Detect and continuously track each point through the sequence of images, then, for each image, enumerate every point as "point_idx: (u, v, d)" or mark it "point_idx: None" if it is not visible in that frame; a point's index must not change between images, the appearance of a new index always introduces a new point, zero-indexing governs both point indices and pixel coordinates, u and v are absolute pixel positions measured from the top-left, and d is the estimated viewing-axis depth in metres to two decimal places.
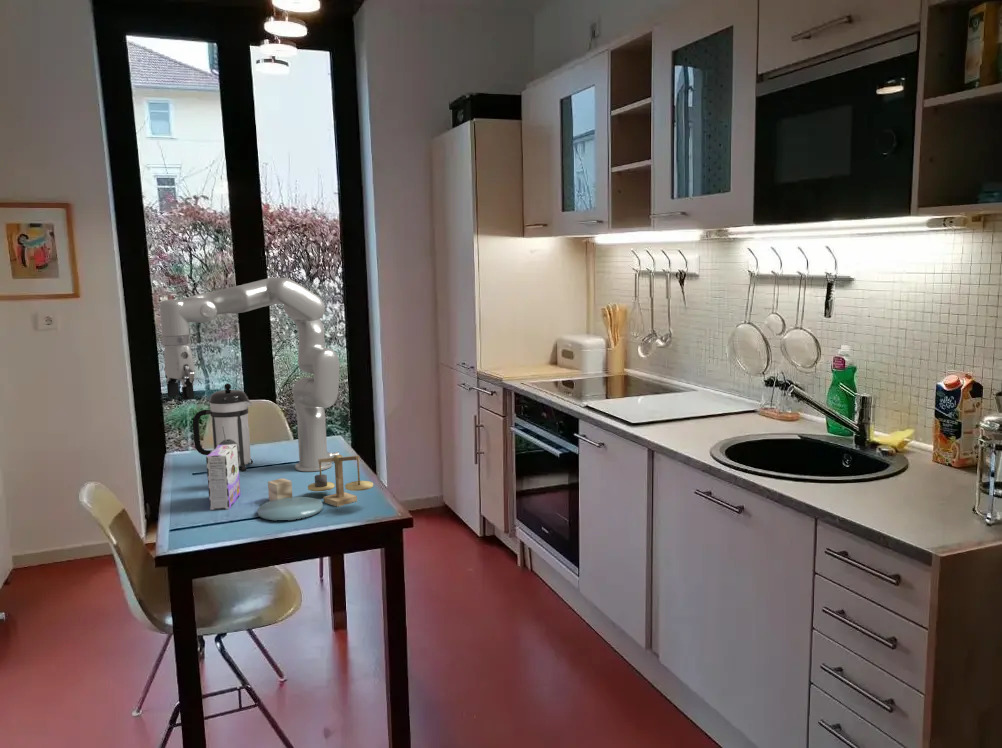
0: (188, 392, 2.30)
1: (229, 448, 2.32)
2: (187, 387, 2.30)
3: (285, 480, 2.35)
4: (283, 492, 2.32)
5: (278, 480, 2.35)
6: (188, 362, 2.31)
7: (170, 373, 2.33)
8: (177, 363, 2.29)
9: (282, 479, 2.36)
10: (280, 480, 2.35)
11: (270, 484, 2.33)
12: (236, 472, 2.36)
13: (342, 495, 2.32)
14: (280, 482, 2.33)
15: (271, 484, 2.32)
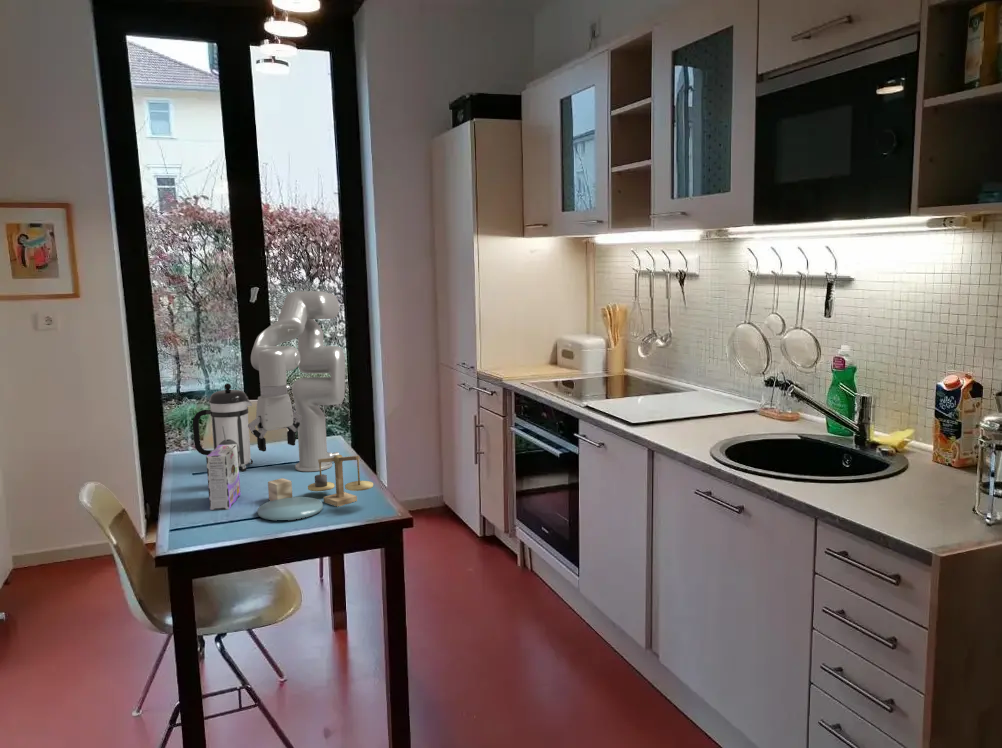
0: None
1: (229, 448, 2.32)
2: None
3: (285, 480, 2.35)
4: (283, 492, 2.32)
5: (278, 480, 2.35)
6: None
7: (277, 424, 2.29)
8: (291, 410, 2.32)
9: (282, 479, 2.36)
10: (280, 480, 2.35)
11: (270, 484, 2.33)
12: (236, 472, 2.36)
13: (342, 495, 2.32)
14: (280, 482, 2.33)
15: (271, 484, 2.32)
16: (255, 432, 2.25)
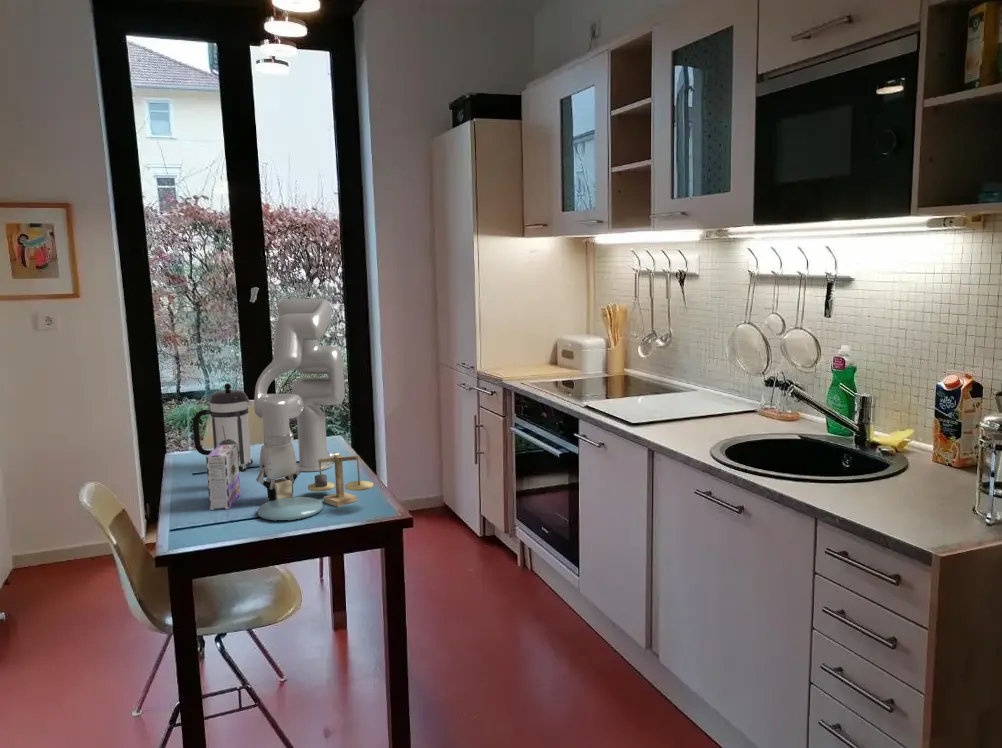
0: None
1: (229, 448, 2.32)
2: None
3: (285, 480, 2.35)
4: (283, 492, 2.32)
5: (278, 480, 2.35)
6: None
7: (280, 472, 2.31)
8: (294, 458, 2.34)
9: (282, 479, 2.36)
10: (280, 480, 2.35)
11: None
12: (236, 472, 2.36)
13: (342, 495, 2.32)
14: (280, 482, 2.33)
15: None
16: (265, 483, 2.29)
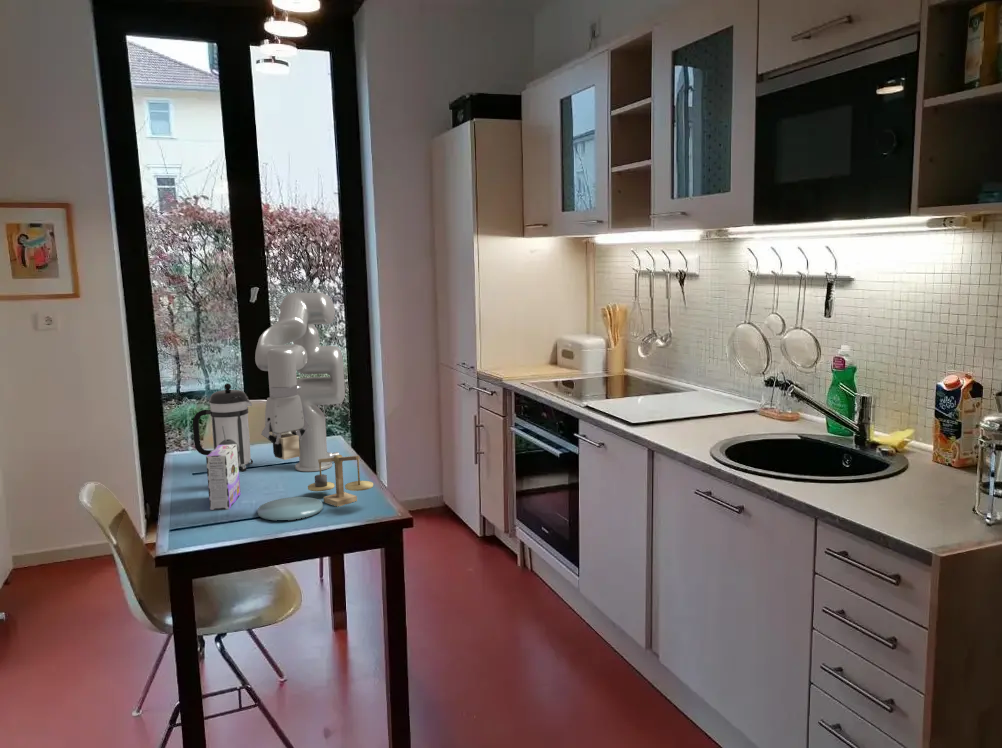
0: None
1: (229, 448, 2.32)
2: None
3: (292, 435, 2.21)
4: (290, 447, 2.19)
5: (284, 435, 2.21)
6: None
7: (287, 426, 2.18)
8: (301, 412, 2.21)
9: (289, 434, 2.22)
10: (287, 435, 2.21)
11: None
12: (236, 472, 2.36)
13: (342, 495, 2.32)
14: (286, 436, 2.19)
15: None
16: (271, 438, 2.16)
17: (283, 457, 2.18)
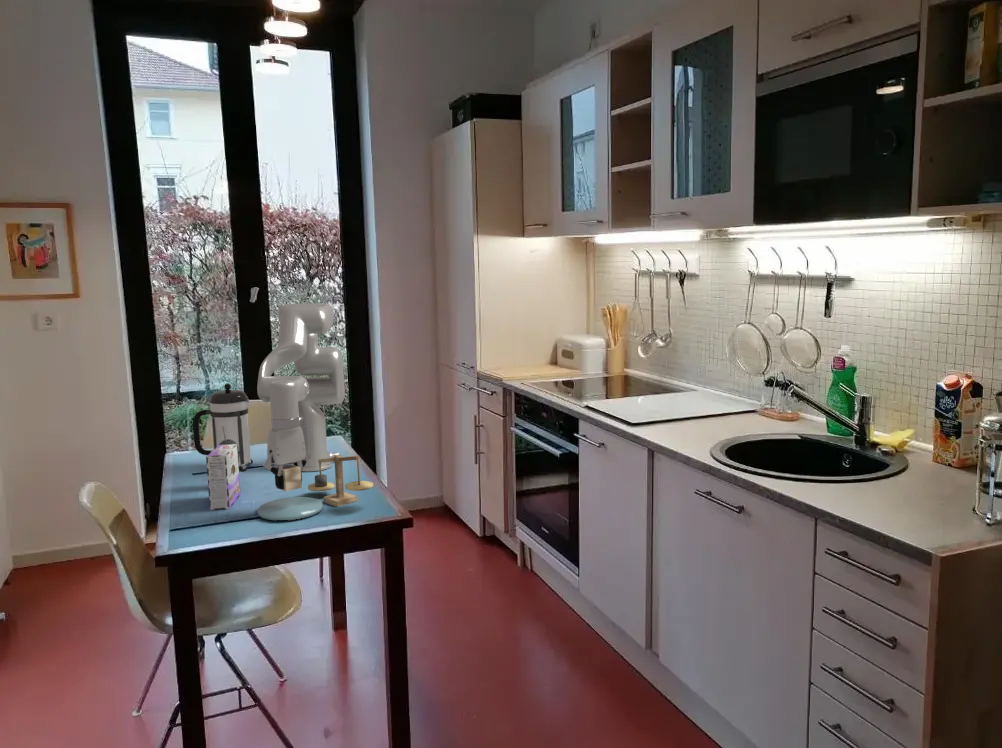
0: None
1: (229, 448, 2.32)
2: None
3: (294, 466, 2.22)
4: (292, 478, 2.20)
5: (286, 466, 2.23)
6: None
7: (289, 458, 2.19)
8: (303, 443, 2.22)
9: (290, 465, 2.24)
10: (288, 466, 2.22)
11: None
12: (236, 472, 2.36)
13: (342, 495, 2.32)
14: (288, 468, 2.21)
15: None
16: (273, 470, 2.17)
17: (285, 489, 2.19)
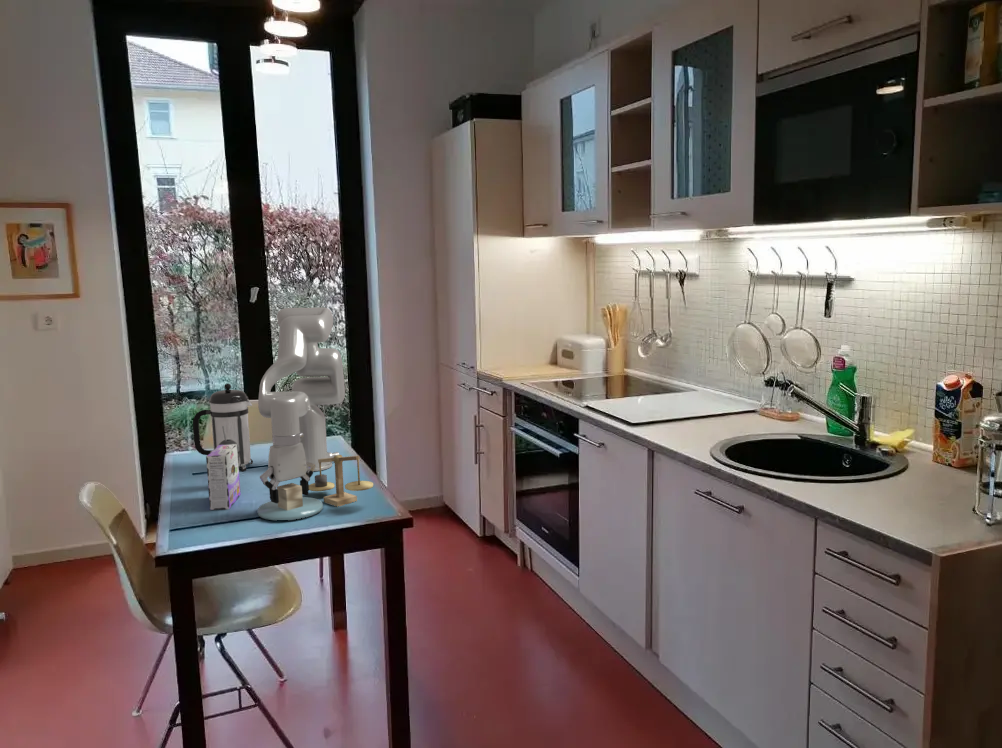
0: None
1: (229, 448, 2.32)
2: None
3: (295, 485, 2.23)
4: (293, 497, 2.21)
5: (288, 485, 2.24)
6: None
7: (290, 474, 2.20)
8: (304, 459, 2.23)
9: (292, 484, 2.25)
10: (290, 485, 2.23)
11: (279, 489, 2.21)
12: (236, 472, 2.36)
13: (342, 495, 2.32)
14: (289, 487, 2.22)
15: (280, 489, 2.21)
16: (267, 484, 2.16)
17: (286, 508, 2.20)
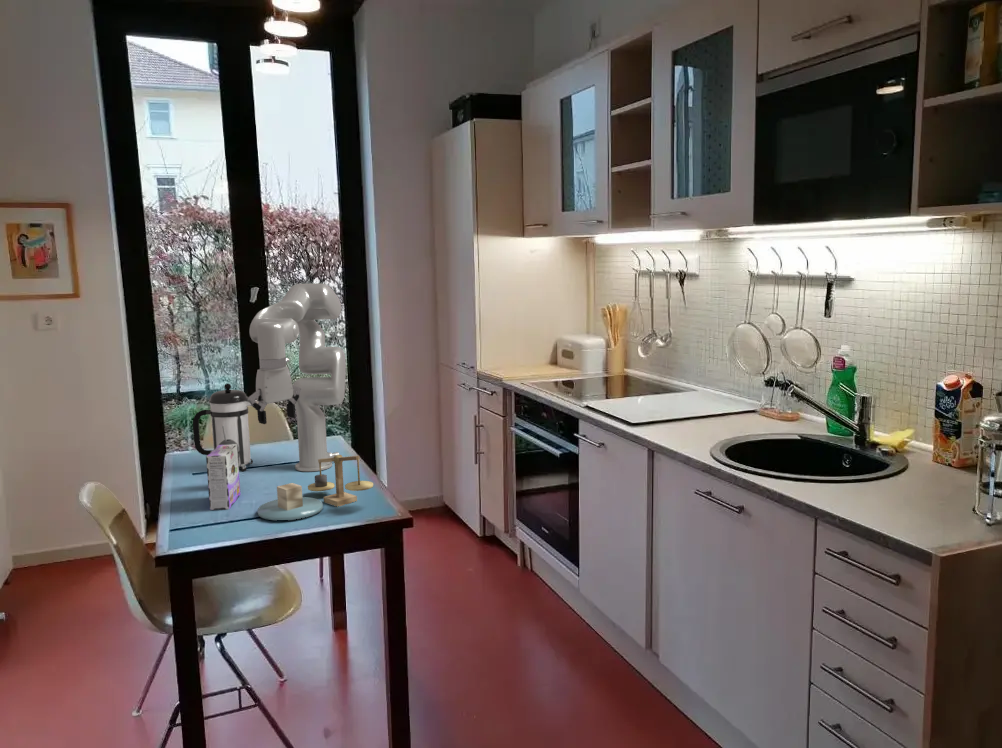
0: None
1: (229, 448, 2.32)
2: None
3: (295, 485, 2.23)
4: (293, 497, 2.21)
5: (288, 485, 2.24)
6: None
7: (277, 396, 2.29)
8: (290, 382, 2.32)
9: (292, 484, 2.25)
10: (290, 485, 2.23)
11: (279, 489, 2.21)
12: (236, 472, 2.36)
13: (342, 495, 2.32)
14: (289, 487, 2.22)
15: (280, 489, 2.21)
16: (255, 405, 2.26)
17: (286, 508, 2.20)
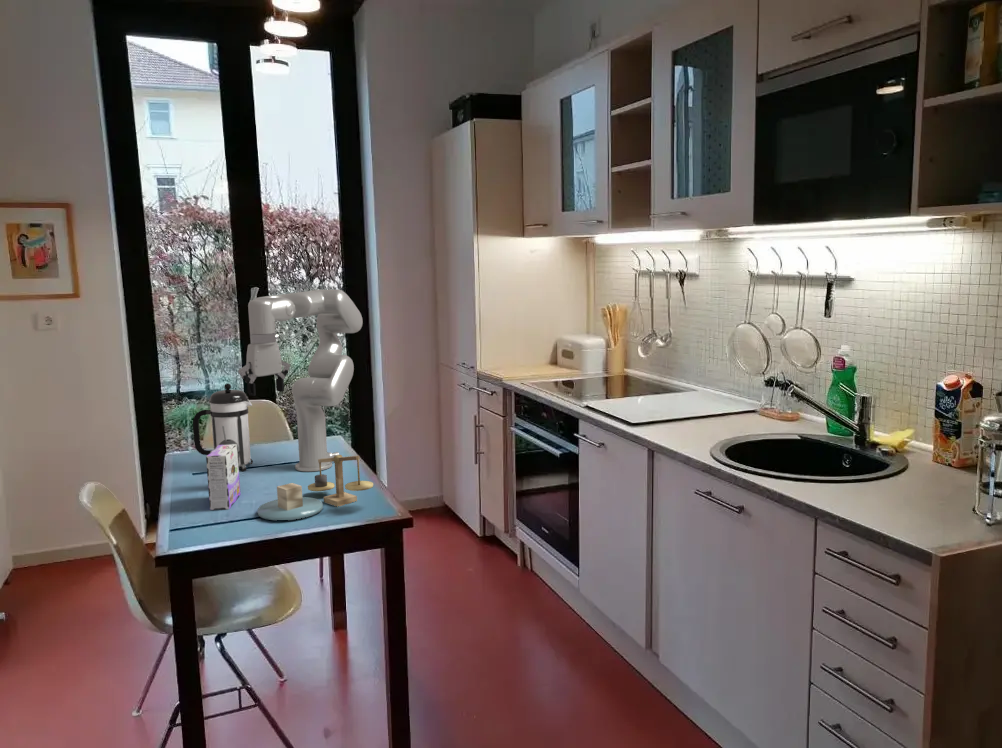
0: None
1: (229, 448, 2.32)
2: None
3: (295, 485, 2.23)
4: (293, 497, 2.21)
5: (288, 485, 2.24)
6: None
7: (266, 370, 2.41)
8: (279, 357, 2.45)
9: (292, 484, 2.25)
10: (290, 485, 2.23)
11: (279, 489, 2.21)
12: (236, 472, 2.36)
13: (342, 495, 2.32)
14: (289, 487, 2.22)
15: (280, 489, 2.21)
16: (245, 377, 2.38)
17: (286, 508, 2.20)
